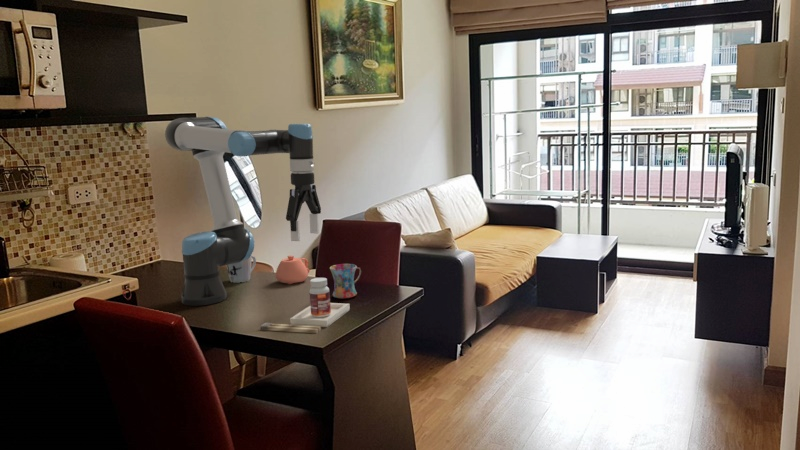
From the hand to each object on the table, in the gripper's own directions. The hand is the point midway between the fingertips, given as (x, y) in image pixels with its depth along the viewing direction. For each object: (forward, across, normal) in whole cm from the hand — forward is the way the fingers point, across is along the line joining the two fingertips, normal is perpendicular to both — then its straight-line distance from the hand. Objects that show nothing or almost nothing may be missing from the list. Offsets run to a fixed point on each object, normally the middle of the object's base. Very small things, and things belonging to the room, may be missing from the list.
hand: (305, 237), depth 212 cm
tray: (+23, -12, -10) cm, 28 cm away
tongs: (+23, -25, -7) cm, 35 cm away
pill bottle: (+22, -12, -10) cm, 27 cm away
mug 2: (+23, +13, -9) cm, 28 cm away
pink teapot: (+24, +29, +21) cm, 43 cm away
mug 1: (+24, +29, +43) cm, 57 cm away
